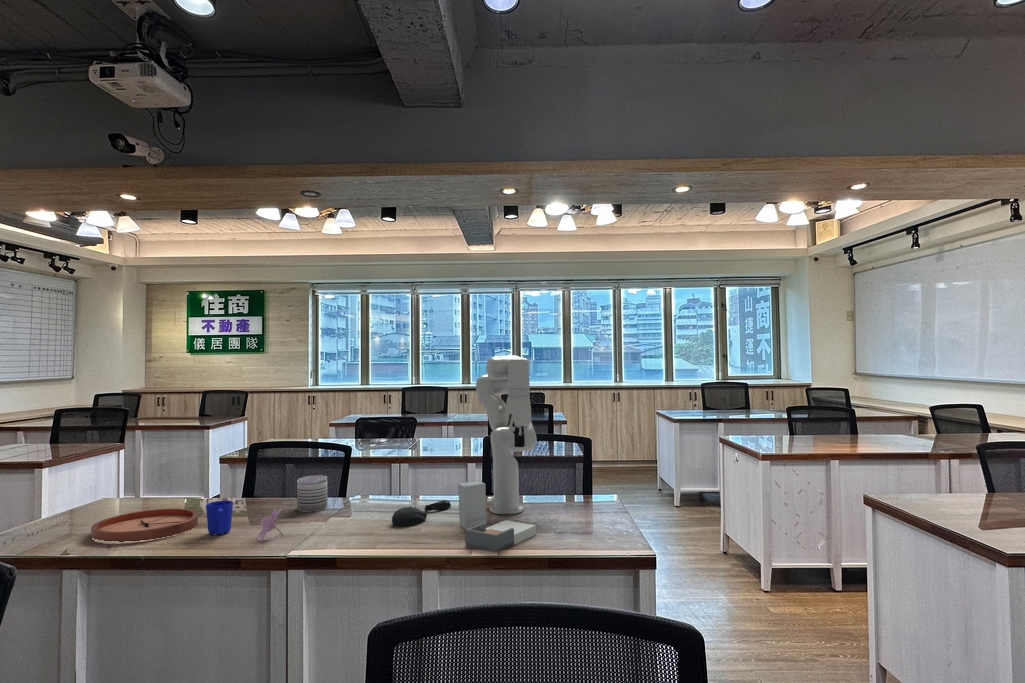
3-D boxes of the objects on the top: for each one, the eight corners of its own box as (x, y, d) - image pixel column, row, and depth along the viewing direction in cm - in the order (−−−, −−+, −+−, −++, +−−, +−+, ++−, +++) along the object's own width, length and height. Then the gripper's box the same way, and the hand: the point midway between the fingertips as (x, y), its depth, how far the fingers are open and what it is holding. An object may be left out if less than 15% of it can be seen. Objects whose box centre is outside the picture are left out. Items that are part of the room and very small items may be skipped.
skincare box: (480, 522, 210) (479, 479, 210) (487, 526, 204) (486, 483, 205) (458, 525, 206) (457, 482, 206) (464, 529, 201) (463, 485, 201)
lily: (264, 535, 201) (250, 513, 198) (297, 520, 202) (284, 498, 199) (259, 557, 190) (244, 534, 186) (294, 541, 191) (280, 518, 188)
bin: (465, 546, 183) (465, 529, 183) (483, 538, 190) (483, 522, 191) (496, 552, 176) (496, 535, 176) (514, 544, 184) (513, 528, 184)
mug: (206, 541, 192) (206, 510, 192) (205, 531, 203) (206, 502, 203) (234, 537, 196) (234, 506, 196) (232, 528, 206) (232, 499, 207)
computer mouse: (386, 527, 207) (385, 511, 207) (435, 505, 236) (435, 491, 236) (408, 529, 203) (408, 513, 203) (456, 507, 232) (456, 493, 232)
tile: (478, 541, 184) (478, 533, 184) (490, 536, 189) (490, 528, 189) (494, 545, 180) (494, 536, 181) (505, 539, 185) (505, 531, 185)
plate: (483, 538, 190) (483, 529, 191) (505, 529, 201) (505, 520, 201) (514, 544, 184) (514, 534, 184) (535, 534, 194) (535, 525, 194)
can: (333, 507, 235) (333, 476, 235) (310, 513, 225) (310, 481, 225) (314, 503, 241) (314, 473, 241) (290, 510, 231) (290, 479, 232)
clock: (67, 529, 195) (149, 506, 225) (67, 541, 195) (149, 517, 225) (143, 535, 186) (218, 510, 217) (143, 548, 186) (218, 522, 216)
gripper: (521, 392, 214) (522, 443, 214) (497, 394, 202) (498, 448, 201) (539, 392, 210) (540, 444, 209) (515, 395, 198) (516, 450, 197)
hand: (519, 446), depth 205 cm, fingers closed
